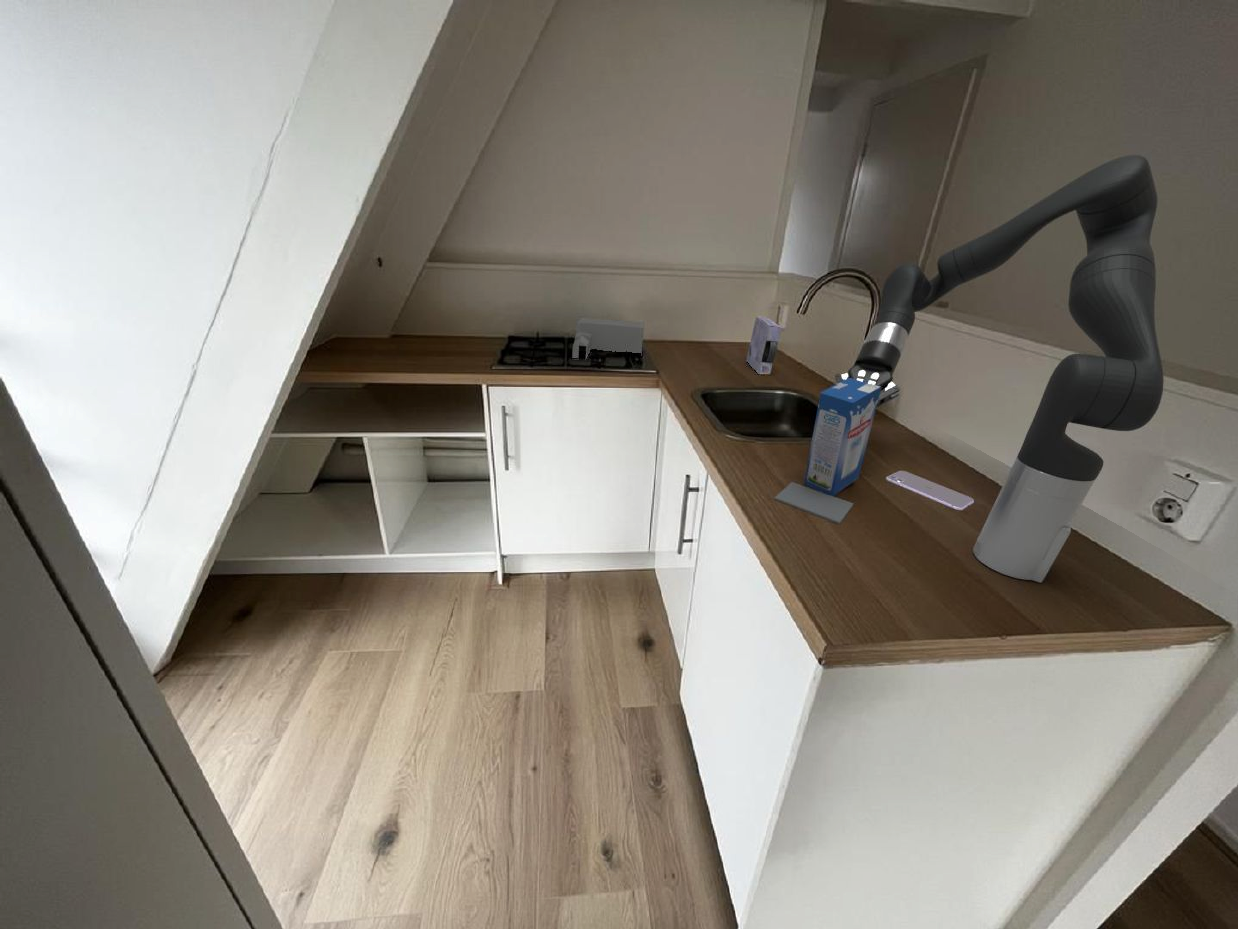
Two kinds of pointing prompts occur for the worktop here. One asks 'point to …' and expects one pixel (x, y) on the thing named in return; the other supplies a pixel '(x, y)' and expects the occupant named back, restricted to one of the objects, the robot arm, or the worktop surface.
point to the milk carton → (841, 435)
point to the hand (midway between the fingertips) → (849, 421)
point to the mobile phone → (930, 490)
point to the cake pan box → (763, 345)
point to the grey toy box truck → (608, 336)
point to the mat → (814, 502)
